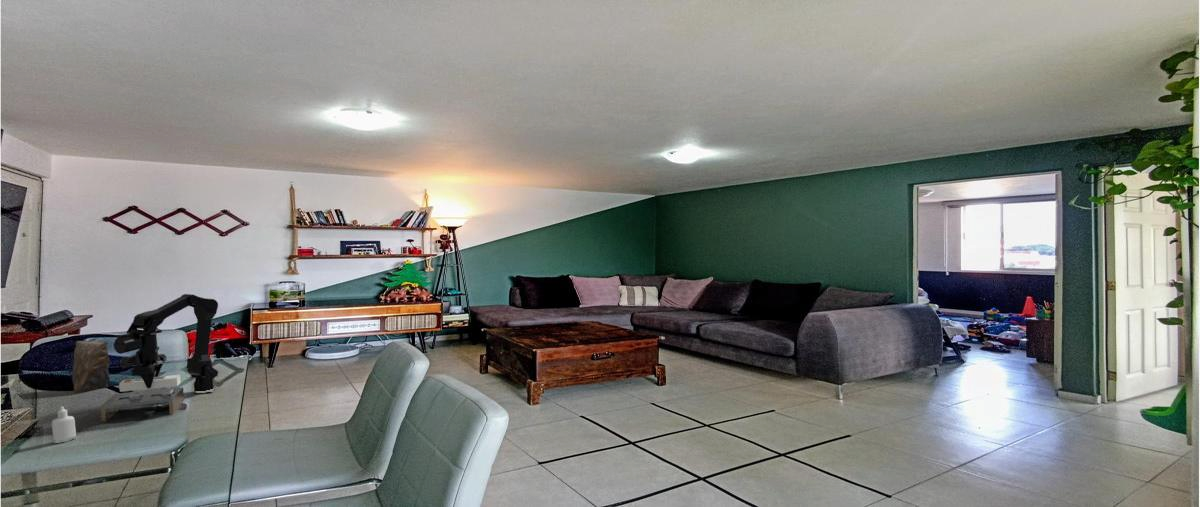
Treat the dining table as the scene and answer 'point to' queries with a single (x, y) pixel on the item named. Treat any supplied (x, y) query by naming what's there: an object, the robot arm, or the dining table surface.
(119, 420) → the dining table surface
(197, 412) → the dining table surface
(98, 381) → the brown paper bag
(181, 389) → the keyhole board
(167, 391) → the power strip
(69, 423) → the eye dropper bottle
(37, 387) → the dining table surface
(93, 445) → the dining table surface
